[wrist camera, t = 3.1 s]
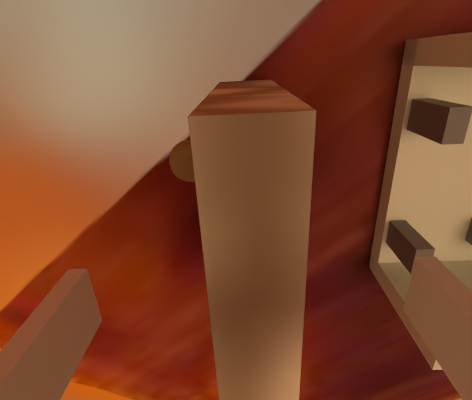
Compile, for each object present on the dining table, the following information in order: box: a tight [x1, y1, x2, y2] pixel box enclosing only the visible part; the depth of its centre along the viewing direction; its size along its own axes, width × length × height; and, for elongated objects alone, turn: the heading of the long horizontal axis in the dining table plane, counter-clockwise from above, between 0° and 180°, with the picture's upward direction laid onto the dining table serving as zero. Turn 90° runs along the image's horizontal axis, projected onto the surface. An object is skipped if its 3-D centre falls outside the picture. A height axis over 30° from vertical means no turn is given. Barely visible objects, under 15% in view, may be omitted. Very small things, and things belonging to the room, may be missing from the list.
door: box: [169, 80, 316, 400], centre depth 18 cm, size 5×14×14 cm, turn 3°
